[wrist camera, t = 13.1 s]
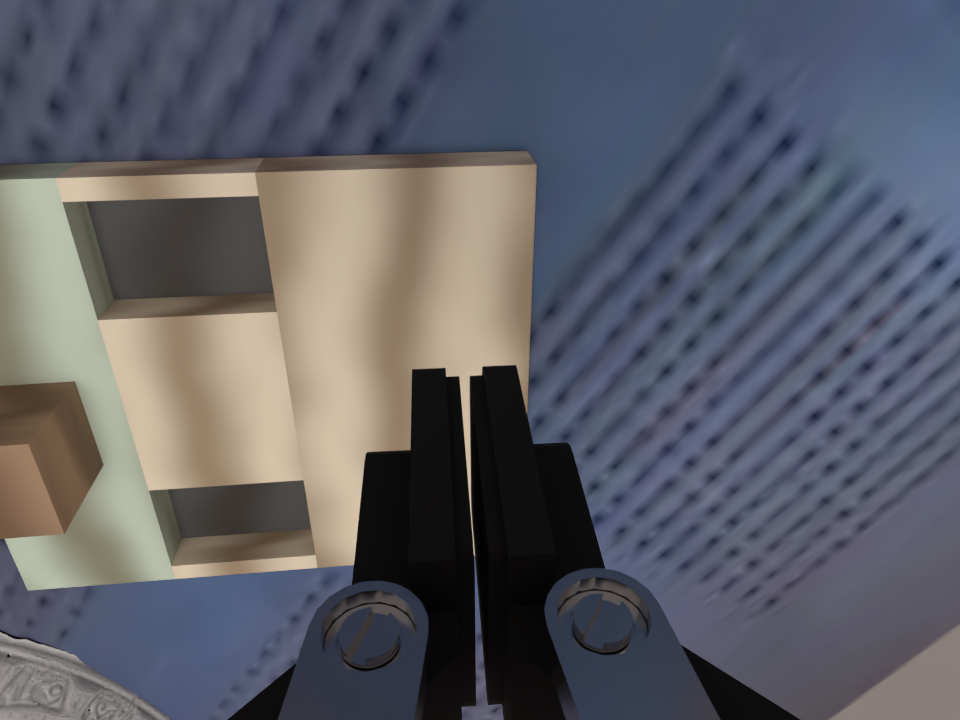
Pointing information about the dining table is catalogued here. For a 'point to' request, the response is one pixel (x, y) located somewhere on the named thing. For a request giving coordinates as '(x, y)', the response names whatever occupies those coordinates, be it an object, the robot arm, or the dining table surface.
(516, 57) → the dining table surface
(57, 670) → the embossed grey dome
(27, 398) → the walnut block
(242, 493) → the board
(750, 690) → the robot arm
